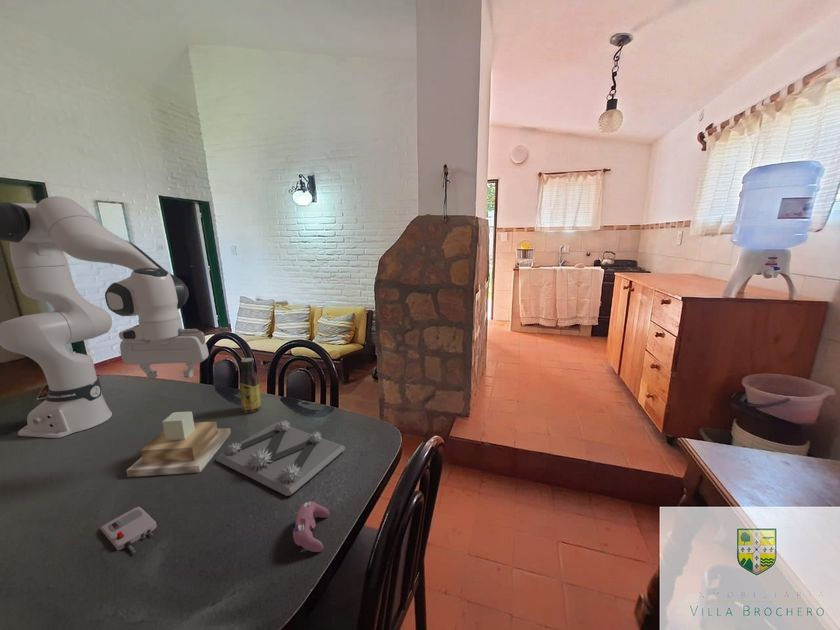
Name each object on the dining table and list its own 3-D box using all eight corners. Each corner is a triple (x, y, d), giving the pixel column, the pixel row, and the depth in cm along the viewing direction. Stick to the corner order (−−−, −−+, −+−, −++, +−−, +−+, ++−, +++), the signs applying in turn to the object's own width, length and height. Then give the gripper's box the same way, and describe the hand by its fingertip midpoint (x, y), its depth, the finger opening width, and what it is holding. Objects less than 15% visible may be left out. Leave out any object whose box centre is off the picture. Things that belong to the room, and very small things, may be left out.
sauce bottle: (239, 411, 118) (232, 360, 114) (255, 404, 124) (249, 355, 119) (249, 416, 115) (242, 363, 111) (265, 408, 120) (259, 358, 116)
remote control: (135, 506, 77) (132, 495, 76) (166, 536, 69) (163, 525, 68) (97, 527, 71) (94, 515, 70) (126, 562, 63) (123, 550, 63)
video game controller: (313, 521, 74) (297, 499, 72) (331, 511, 74) (315, 490, 72) (304, 562, 65) (285, 538, 63) (324, 551, 65) (306, 527, 63)
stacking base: (127, 476, 85) (123, 457, 84) (171, 436, 103) (168, 419, 101) (200, 472, 87) (196, 452, 86) (230, 433, 105) (228, 416, 103)
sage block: (166, 440, 91) (162, 421, 90) (177, 430, 96) (173, 412, 95) (185, 439, 92) (181, 420, 90) (195, 429, 96) (191, 411, 95)
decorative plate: (347, 451, 97) (346, 430, 95) (289, 501, 78) (286, 476, 77) (278, 425, 110) (276, 406, 109) (214, 463, 92) (211, 440, 90)
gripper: (209, 325, 91) (216, 371, 94) (130, 327, 89) (139, 374, 92) (196, 331, 85) (204, 380, 88) (111, 333, 82) (122, 383, 86)
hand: (170, 377), depth 90 cm, fingers open, 8 cm apart
